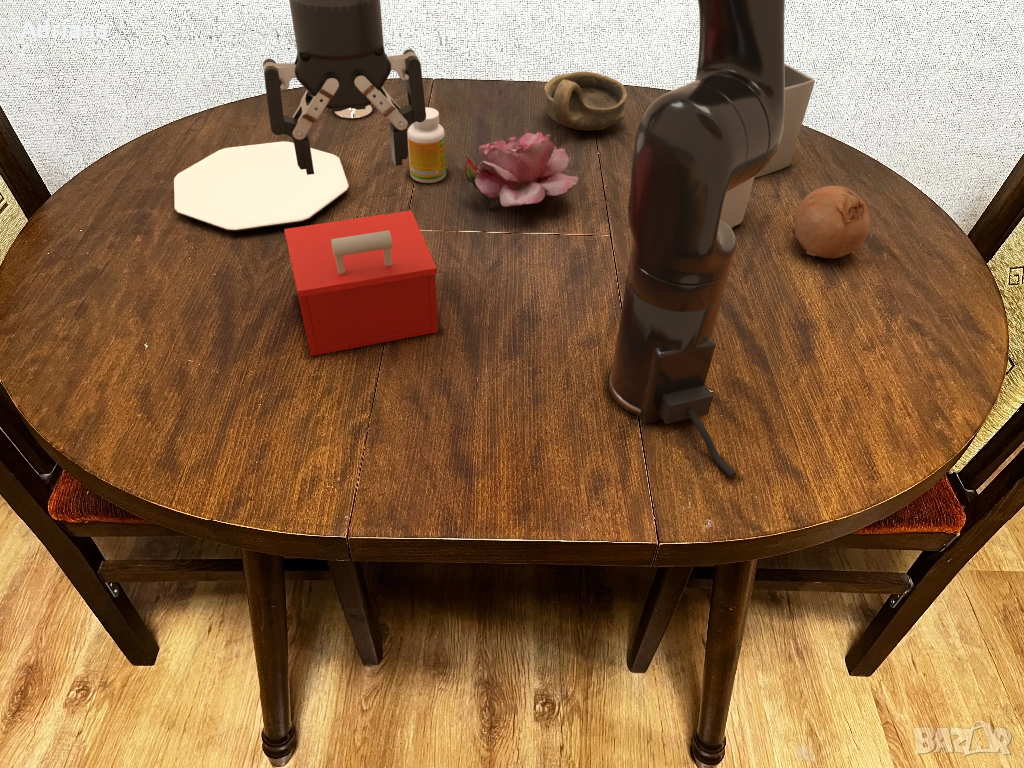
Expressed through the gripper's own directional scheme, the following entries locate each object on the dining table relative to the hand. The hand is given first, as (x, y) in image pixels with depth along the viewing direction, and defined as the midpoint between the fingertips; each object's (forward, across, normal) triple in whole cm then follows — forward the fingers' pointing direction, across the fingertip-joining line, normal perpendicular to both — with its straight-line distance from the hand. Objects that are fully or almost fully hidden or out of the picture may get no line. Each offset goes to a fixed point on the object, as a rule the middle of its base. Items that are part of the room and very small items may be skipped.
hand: (354, 166), depth 75 cm
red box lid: (+11, 0, +2) cm, 12 cm away
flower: (+20, +25, +23) cm, 39 cm away
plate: (+21, -10, +35) cm, 42 cm away
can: (+20, +50, +12) cm, 55 cm away
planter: (+20, +66, +25) cm, 73 cm away
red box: (+20, 0, +2) cm, 20 cm away
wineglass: (+20, +6, +58) cm, 62 cm away
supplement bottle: (+20, +14, +33) cm, 41 cm away
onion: (+20, +61, +1) cm, 64 cm away
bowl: (+20, +41, +43) cm, 63 cm away
